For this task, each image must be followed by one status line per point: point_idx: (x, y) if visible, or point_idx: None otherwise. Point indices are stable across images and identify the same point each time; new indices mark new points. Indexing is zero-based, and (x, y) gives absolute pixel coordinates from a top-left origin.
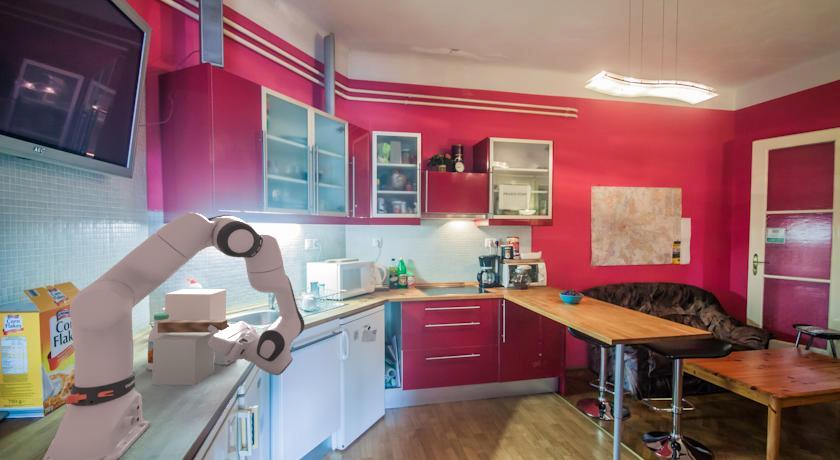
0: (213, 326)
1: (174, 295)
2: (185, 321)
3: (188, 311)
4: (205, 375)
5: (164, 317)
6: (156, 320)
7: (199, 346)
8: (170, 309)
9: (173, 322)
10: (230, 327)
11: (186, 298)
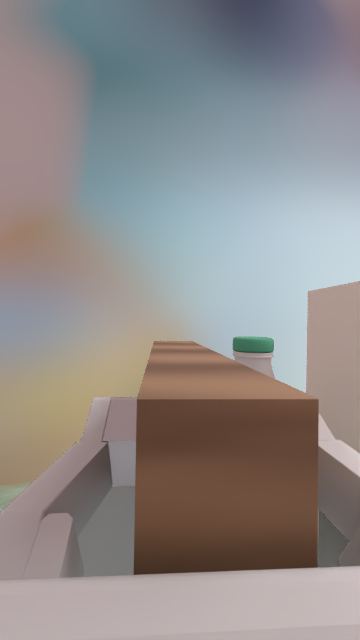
0: (99, 424)
1: (322, 293)
2: (172, 348)
3: (351, 350)
4: None
5: (247, 346)
6: (233, 352)
7: (104, 557)
8: (315, 339)
9: (153, 344)
10: (302, 620)
11: (347, 300)
